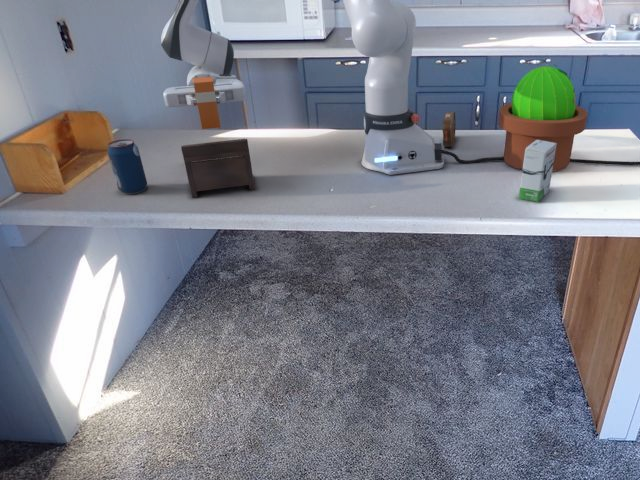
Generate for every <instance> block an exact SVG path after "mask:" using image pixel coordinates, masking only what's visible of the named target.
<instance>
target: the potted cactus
mask: <svg viewBox="0 0 640 480" xmlns="http://www.w3.org/2000/svg"><path fill="white" fill-rule="evenodd" d="M554 66H555V67H554ZM554 66H548V63H547V64H545V66H539V67H538V65H536V68H533V69H531V70H530V71H529V72H527V73H526V74H525V75H523V76H522V77H521V79H519V81H518V83H516V86H515V87H514V90H513V89H512V90H511V91H512V92H513V93H512V98H511V102H508V103H506V104H503V105H502V106H501V107H500V108H499V110H498V111H499V112H498V121H497V123H498V126H499V128H501V129H502V131H503V130H504V131H505V141H504V149H503V157H504V160H503V161H504V163H505V164H507V165H508V166H509V167H511V168H514V169H517V170H521V171H522V170H523V162H524V155H525V149H526V148H527V147H528V146H529V145H530V144H532V143H533V142H534V141H535V140H542V141H548V142H553V143H557V145H556V151H555V157H554V163H553V169H552V172H558V171H561V170H564V169H566V168H567V167H568V166H569V165H570V163H571V162H570V159H572V152H573V145H574V141H575V136H576V135H579V134H581V133H583V132H584V131H585V129H586V126H587V120H588V116H589V115H588V114H589V113H588V111H587V110H586V109H585V108H583V107H581V106H579V105H576V104H577V103H576V102H577V99H576V96H577V95H576V92H575V87H574V85H573V84H574V83H575V81H572V79H573V78H571V77H570V75H568V73H567V72H566V71H565V70H563V69H562V68H561V67H560V66H558V65H556V64H554Z"/></svg>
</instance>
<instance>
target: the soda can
mask: <svg viewBox="0 0 640 480" xmlns="http://www.w3.org/2000/svg"><path fill="white" fill-rule="evenodd" d="M107 145H108V146H107V147H108V148H107V151H106V152H107V156H108V159H109V163H110V166H111V169H112V173H113V177H114V180H115V183H116V187H117V189H118V190H119V191H120V192H121V193H122V194H124V195H137V194H140V193H142V192H144V191H145V190H146V189H147V186H148V181H147V177H146V173H145V169H144V166H143V162H142V158H141V154H140V149H139V147H138V146H137V144H136V143H135V141H134V140H133V139H131V138H129V139H128V138H127V139H126V138H124V139H123V138H122V139H116V140H113V141H110V142H108V144H107Z"/></svg>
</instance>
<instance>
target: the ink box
mask: <svg viewBox="0 0 640 480" xmlns="http://www.w3.org/2000/svg"><path fill="white" fill-rule="evenodd" d="M556 145H557V143H553V142H548V141H542V140H535V141H534V142H533V143H532V144H530V145H529V146H528V147H527V148H526V149H525V155H524V162H523V170H521V172H522V173H521V179H520V187H519V194H518V199H520V200H526V201H531V202H536V203H539V202H540V201H541V200H542V199H543V198H544V197H545V195H547V193H549V191H550V187H551V180H552V175H553V171H552V169H553V163H554V157H555V151H556Z"/></svg>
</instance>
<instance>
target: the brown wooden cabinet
mask: <svg viewBox="0 0 640 480" xmlns="http://www.w3.org/2000/svg"><path fill="white" fill-rule="evenodd" d="M180 149H181V153H182V157H183V163H184V167H185V171H186V176H187V182H188V185H189V190H190V194H191V198H192V199H195V198H198V192H203V191H210V190H218V189H219V190H220V189H225V188H226V189H227V188H233V187H241V186H248V189H249V191H255V189H256V187H255V181H254V174H253V166H252V160H251V154H250V148H249V141H248V138H238V139H230V140H219V141H211V142H202V143H201V142H200V143H192V144H184V145H181V146H180Z"/></svg>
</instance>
